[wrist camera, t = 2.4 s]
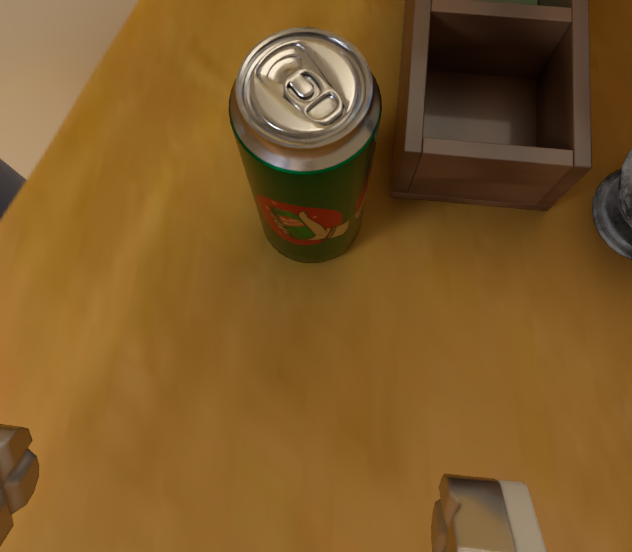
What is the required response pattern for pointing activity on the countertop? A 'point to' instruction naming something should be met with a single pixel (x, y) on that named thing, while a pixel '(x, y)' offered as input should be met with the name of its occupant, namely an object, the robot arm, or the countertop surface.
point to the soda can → (307, 138)
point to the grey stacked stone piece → (616, 209)
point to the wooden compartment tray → (493, 102)
